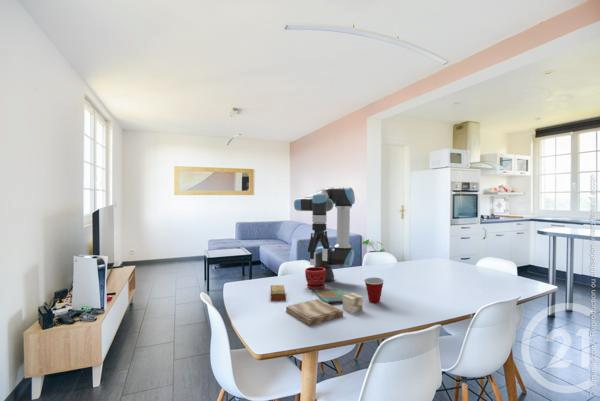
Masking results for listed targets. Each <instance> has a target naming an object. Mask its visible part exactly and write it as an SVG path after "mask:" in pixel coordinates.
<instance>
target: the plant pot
mask: <svg viewBox="0 0 600 401" xmlns="http://www.w3.org/2000/svg"><path fill="white" fill-rule="evenodd" d="M304 272H305V280H306V282H307V283H306V286H307V288H309V289H310V290H321V289H324V288H325V287H326V284H325V282H324V281H325V277H326V269H325V268H322V267H315V266H312V267H307V268H305V270H304Z"/></svg>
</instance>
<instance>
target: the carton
mask: <svg viewBox="0 0 600 401" xmlns="http://www.w3.org/2000/svg"><path fill="white" fill-rule="evenodd" d="M286 298H287V296H286V289H285V286H284V284H279V285H278V284H276V285H270V301H271V302H273V301H286Z"/></svg>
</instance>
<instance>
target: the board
mask: <svg viewBox="0 0 600 401" xmlns="http://www.w3.org/2000/svg"><path fill="white" fill-rule="evenodd" d="M285 307H286V308H285V312H287V313H289V314H290V315H291V316H293V317H294V318H296V319H297V320H299V321H301V322H302V323H304V324H305V325H307V326H309V327H310V326H313V324H314V325H317V324H321V323H324V322H327V320H328V321H331V320H334V319H338V318H341V317H344V310H343V309H340V308H337V307H336V306H334V305H333V304H332V305H330V304H328V303H326V302H323V301H322V300H321V299H320V298H315V299H312V300H307V301H304V302H299V303H295V304H291V305H287V306H285ZM320 322H321V323H320ZM316 323H317V324H316Z"/></svg>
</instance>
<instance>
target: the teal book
mask: <svg viewBox="0 0 600 401" xmlns="http://www.w3.org/2000/svg"><path fill="white" fill-rule="evenodd" d="M313 293H314V294H315V295H316V296H317V297H318V299H319V300H321V301H323V302H326V303H328V304H330V305H332V306H333V305H343V295H346V294H347V293H346V292H345V291H344V290H342V289H340V288H339V287H335V288H326V289H324V288H322V289H313Z"/></svg>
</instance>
